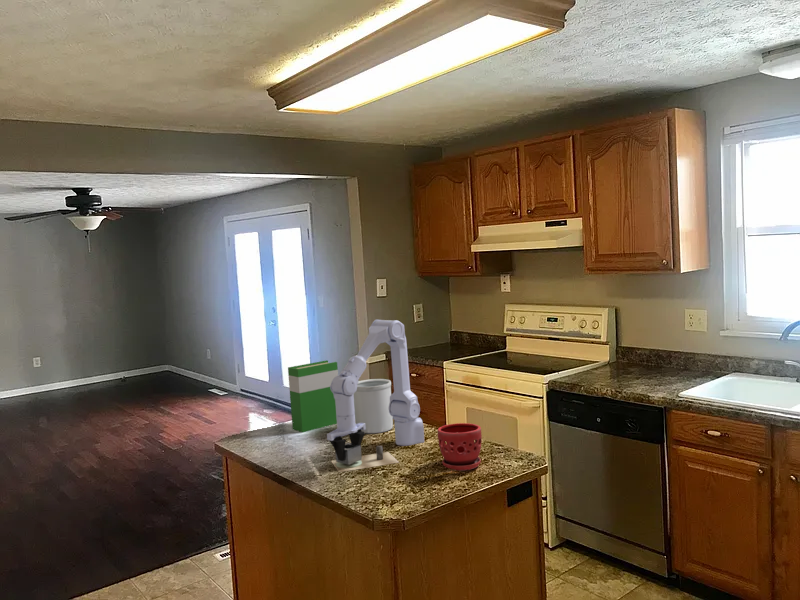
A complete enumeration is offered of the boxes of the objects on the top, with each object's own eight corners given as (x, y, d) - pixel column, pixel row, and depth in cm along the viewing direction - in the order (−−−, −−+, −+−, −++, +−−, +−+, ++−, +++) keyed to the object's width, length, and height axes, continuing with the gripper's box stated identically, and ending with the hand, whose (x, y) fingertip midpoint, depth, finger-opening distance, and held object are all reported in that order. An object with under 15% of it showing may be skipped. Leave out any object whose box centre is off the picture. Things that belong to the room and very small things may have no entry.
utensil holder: (346, 430, 249) (343, 384, 248) (376, 421, 259) (373, 377, 258) (372, 436, 238) (368, 388, 237) (402, 427, 248) (399, 381, 247)
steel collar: (349, 456, 210) (348, 442, 209) (361, 459, 206) (360, 445, 206) (336, 461, 206) (335, 447, 205) (348, 464, 202) (347, 450, 202)
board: (388, 454, 216) (387, 438, 216) (399, 465, 205) (398, 448, 204) (331, 463, 210) (329, 446, 210) (339, 475, 199) (337, 457, 199)
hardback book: (330, 419, 266) (326, 360, 265) (341, 422, 261) (337, 362, 259) (292, 429, 255) (287, 367, 254) (302, 432, 250) (297, 369, 248)
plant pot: (491, 464, 201) (489, 425, 200) (463, 476, 191) (461, 435, 191) (459, 456, 210) (456, 419, 209) (430, 467, 201) (428, 429, 200)
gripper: (336, 421, 197) (339, 466, 198) (371, 410, 207) (374, 453, 208) (321, 418, 202) (324, 462, 203) (355, 408, 212) (358, 449, 213)
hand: (348, 457), depth 206 cm, fingers closed on steel collar, 6 cm apart
